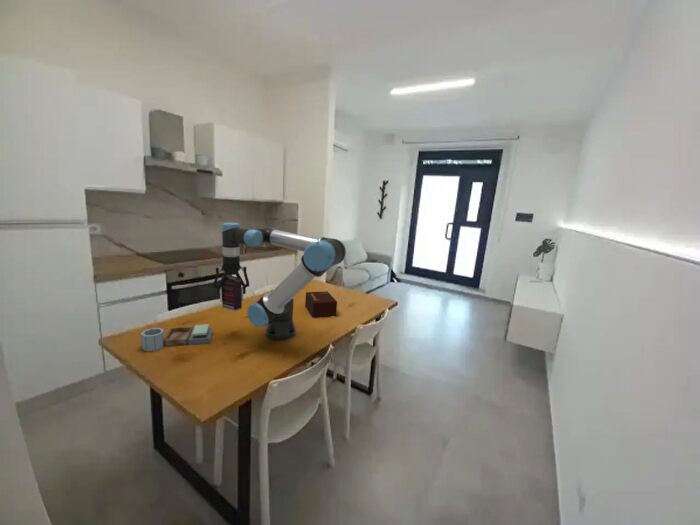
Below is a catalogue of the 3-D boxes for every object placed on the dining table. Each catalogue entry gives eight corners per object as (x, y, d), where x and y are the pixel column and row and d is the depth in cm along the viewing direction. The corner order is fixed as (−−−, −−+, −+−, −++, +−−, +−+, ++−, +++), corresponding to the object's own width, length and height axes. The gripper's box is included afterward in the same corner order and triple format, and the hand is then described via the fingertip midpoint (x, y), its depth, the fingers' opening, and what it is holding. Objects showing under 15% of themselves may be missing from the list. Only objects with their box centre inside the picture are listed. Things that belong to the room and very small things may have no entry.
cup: (166, 341, 138) (165, 327, 137) (161, 350, 131) (160, 335, 129) (145, 343, 136) (144, 328, 134) (140, 351, 128) (139, 336, 127)
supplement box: (242, 308, 148) (242, 277, 145) (234, 311, 143) (234, 279, 140) (229, 305, 151) (229, 274, 148) (221, 308, 147) (221, 276, 144)
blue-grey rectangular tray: (212, 332, 151) (212, 327, 150) (210, 343, 140) (209, 338, 139) (192, 333, 148) (192, 328, 147) (188, 344, 137) (188, 339, 136)
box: (338, 316, 185) (339, 301, 183) (312, 318, 179) (313, 302, 177) (328, 305, 204) (329, 290, 202) (305, 306, 198) (305, 291, 196)
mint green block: (209, 330, 149) (208, 324, 149) (206, 339, 140) (206, 332, 139) (195, 331, 147) (195, 324, 147) (192, 340, 138) (192, 333, 137)
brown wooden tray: (192, 332, 150) (192, 326, 149) (188, 344, 137) (187, 338, 136) (171, 333, 146) (170, 327, 146) (164, 346, 134) (163, 340, 133)
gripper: (254, 254, 149) (254, 297, 154) (207, 254, 142) (208, 299, 146) (255, 257, 142) (255, 302, 147) (205, 256, 135) (206, 304, 139)
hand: (231, 300), depth 146 cm, fingers closed on supplement box, 9 cm apart
